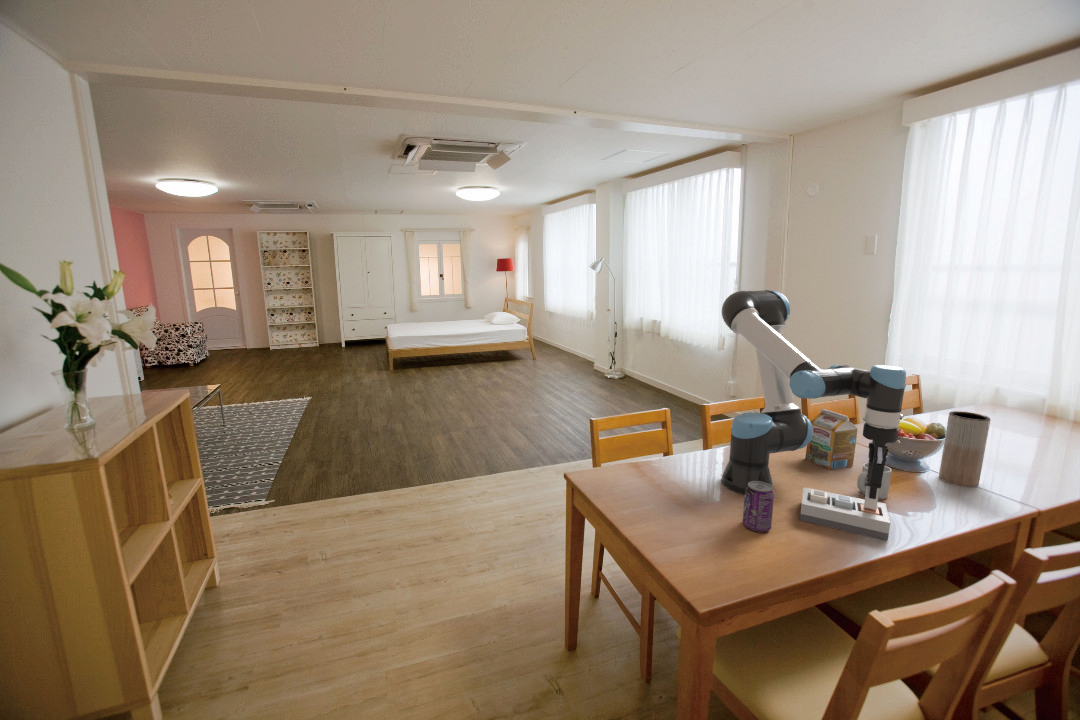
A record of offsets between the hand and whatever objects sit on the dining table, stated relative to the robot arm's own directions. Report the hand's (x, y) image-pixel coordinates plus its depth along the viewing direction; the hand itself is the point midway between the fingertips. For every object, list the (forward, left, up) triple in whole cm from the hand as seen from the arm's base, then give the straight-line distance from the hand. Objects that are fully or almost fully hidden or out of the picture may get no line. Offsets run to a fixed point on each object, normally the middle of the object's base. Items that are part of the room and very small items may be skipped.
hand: (870, 507), depth 128 cm
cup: (+2, +23, -6) cm, 24 cm away
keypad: (-6, 0, -6) cm, 8 cm away
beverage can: (-26, -16, -6) cm, 31 cm away
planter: (+28, +50, -6) cm, 58 cm away
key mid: (-6, 0, -2) cm, 6 cm away
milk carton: (-9, +46, -6) cm, 47 cm away
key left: (-12, 0, -2) cm, 12 cm away
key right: (0, 0, -3) cm, 3 cm away
